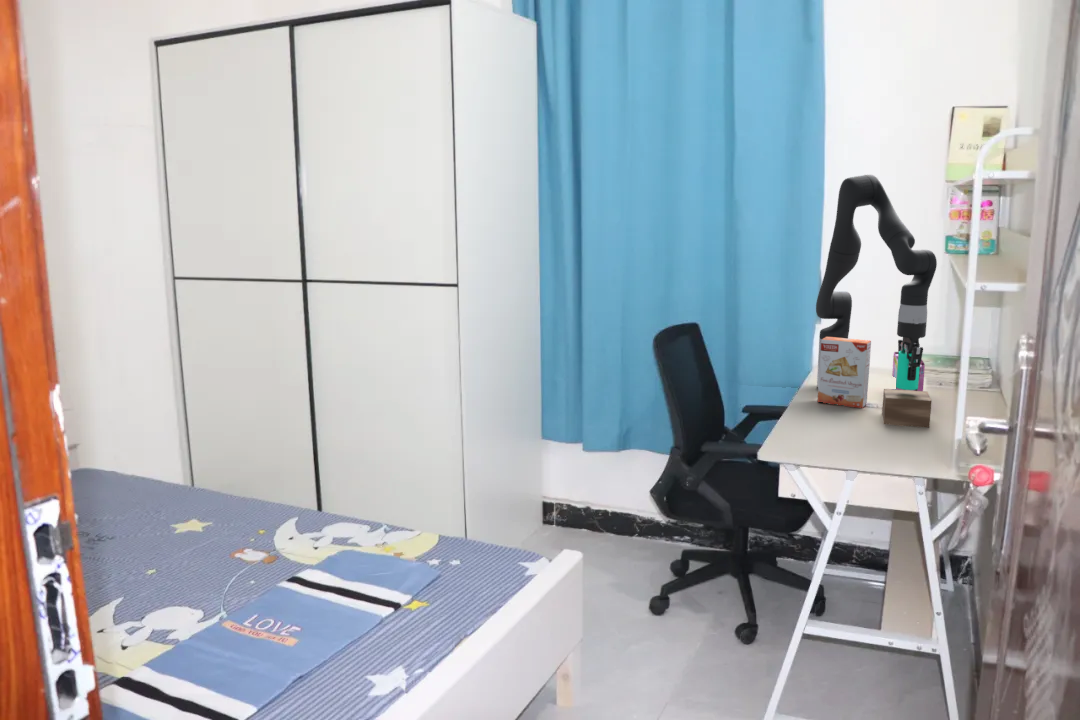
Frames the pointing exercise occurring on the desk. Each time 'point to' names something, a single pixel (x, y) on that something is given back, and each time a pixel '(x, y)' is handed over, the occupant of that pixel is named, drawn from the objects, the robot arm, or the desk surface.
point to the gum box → (921, 372)
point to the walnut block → (906, 408)
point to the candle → (905, 374)
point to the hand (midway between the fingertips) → (907, 377)
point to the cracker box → (844, 371)
